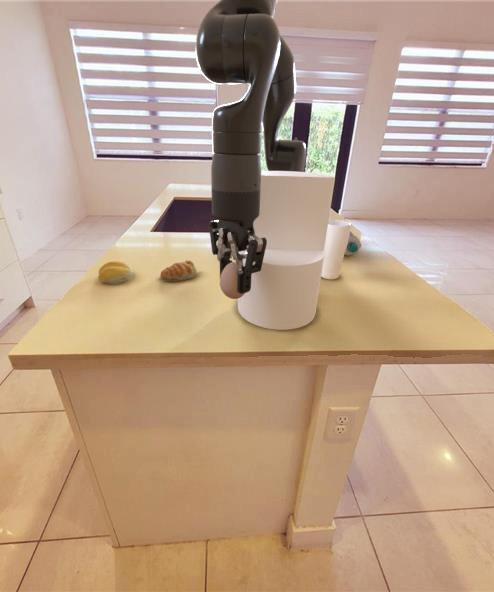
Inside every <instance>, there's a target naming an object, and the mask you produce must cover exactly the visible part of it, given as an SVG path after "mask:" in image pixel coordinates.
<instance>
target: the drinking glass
mask: <svg viewBox="0 0 494 592" xmlns="http://www.w3.org/2000/svg"><path fill="white" fill-rule="evenodd" d="M351 229H352V223H351V222H350V221H346V220H342V219H329V220H328V227H327V233H326V240H325V246H324V262H323V268H322V274H321V279H325V280H330V281H331V280H337V279H338V278H339V277H340V273H341V268H342V266H343V261H344V258H345V251H346V247H347V244H348V240H349V235H350V232H351Z"/></svg>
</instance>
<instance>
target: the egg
mask: <svg viewBox="0 0 494 592" xmlns="http://www.w3.org/2000/svg"><path fill="white" fill-rule="evenodd" d="M238 273H239V272H238V268H237V262H236V261H232V262H231V263H229V264H228V265H226V267H225V268H224V269H223V271H222V274H221V276H220V275H219V288H220V290H221V291H222V293H223V294H224V295H225V296H226V297H227V298H229V299H231V300H238V298H240V297H242V296H243V295H244V294H245V293H243V294H240V293H239V292H238V291H237V285H238Z"/></svg>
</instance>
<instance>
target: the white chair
mask: <svg viewBox="0 0 494 592" xmlns="http://www.w3.org/2000/svg"><path fill="white" fill-rule="evenodd" d="M335 182H336V177H335V176H332V175H329V174H323V173H315V172H306V171H304V172H295V171H268V170H261V192H260V211H259V216H258V218H256V219H255V220H254V222H253V226H254V231H255V235H256V236H257V237H258V238H266V240H267V245H266V249H265V254H264V258H263V263H262V267H261V271H259V272H255V273H252V275H251V289H250V291H249V292H247V293H245V294H244V295H243V296H242V297H240V298H238V299H237V310H238V313H239V314H240V316H241V317H242V318H243V319H244V320H246V321H247V322H248V323H250V324H253V325H255V326H256V327H260V328H263V329H270V330H278V331H283V330H287V331H288V330H293V329H294V330H295V329H299V328H302V327H304V326H307V325H309V324H310V323H311V322H312V321H313V320H314V318H315V316H316V312H317V306H318V301H319V300H318V299H319V293H320V286H321V280H322V277H321V274H322V268H323V262H324V246H325V240H326V233H327V227H328V220H330V214H331V207H332V202H333V201H332V200H333V195H334V194H333V193H334V187H335ZM246 252H247V249H246V250H245V251H241V252H239V254H245V253H246ZM245 263H246V258H245V259H243V266H245ZM253 264H254V265H255V262H253Z"/></svg>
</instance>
